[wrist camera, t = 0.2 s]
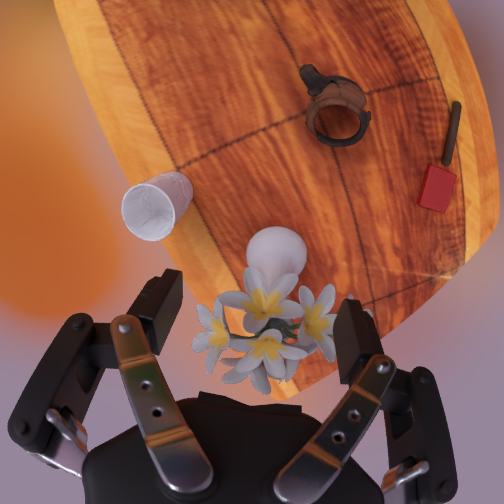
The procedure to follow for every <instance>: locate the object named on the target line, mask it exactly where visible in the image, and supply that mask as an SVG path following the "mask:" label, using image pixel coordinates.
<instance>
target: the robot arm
mask: <svg viewBox="0 0 504 504" xmlns="http://www.w3.org/2000/svg"><path fill="white" fill-rule="evenodd" d="M182 299H183V276H182V271H179V270H173V269H168V268H167V269H166V270H165V272H164V273H163V275H162V276H161V277H156V276H155V277H154V278H152V279H150V280H149V281H148V282H147V283H146V284H145V286H144V288H143V290H141V292H140V294H139V295H138V296H137V298H136V300H135V301H134V303H133V304H132V306H131V307H130V309H129V310H128V312H127V313H126V314H125V315H120V316H118V317H116V318H114V319H113V320H112V322H111V323H94V322H93V320H92V318H91V316H89V315H88V314H86V313H77V314H74V315H72V316H70V317H69V318H68V320H67V321H66V322H65V323H64V325H63V326H62V328H61V329H60V331H59V332H58V334H57V336H56V337H55V338H54V340H53V342H52V343H51V345H50V346H49V348H48V350H47V351H46V353H45V354H44V356H43V358H42V359H41V361H40V362H39V364H38V366H37V367H36V369H35V371H34V372H33V374H32V376H31V378H30V379H29V381H28V383H27V385H26V387H25V389H24V390H23V392H22V394H21V396H20V398H19V400H18V402H17V404H16V406H15V408H14V410H13V412H12V414H11V416H10V418H9V421H8V432H9V435H10V437H11V439H12V440H13V441H14V442H15V443H17V444H18V445H19V446H21V447H22V448H23V449H24V450H25V451H26V452H28V453H29V454H31V455H32V456H34V457H35V458H36V459H38V460H40V461H41V462H43V463H46V464H47V465H49V466H51V467H53V468H55V469H62V470H64V471H66V472H68V473H70V474H72V475H74V476H76V477H78V478H80V479H82V482H83V486H84V492H85V504H443V503H446V502H448V501H450V500H451V499H452V498H453V497H454V496H455V494H456V491H457V488H458V481H457V473H456V466H455V460H454V454H453V448H452V443H451V438H450V433H449V429H448V424H447V421H446V416H445V412H444V408H443V405H442V401H441V398H440V394H439V391H438V387H437V384H436V381H435V378H434V375H433V374H432V373H431V371H429V370H428V369H427V368H425V367H421V366H420V367H416V368H414V369H413V370H412V372H411V373H410V372H407V371H404V370H400V369H398V368H396V365H395V362H394V361H393V360H392V359H391V358H390V357H388V356H386V355H385V354H384V351H383V348H382V345H381V341H380V338H379V335H378V334H377V329H376V328H375V323H374V320H373V318H372V317H371V315H370V314H369V313H368V312H367V311H363V309H362V306H361V303H360V301H359V300H354V299H347V298H345V299H344V300H343V302H342V304H341V306H340V309H339V311H338V313H337V316H336V318H335V320H334V324H333V337H334V343H335V349H336V356H337V362H338V369H339V375H340V383H341V384H349V390H348V391H347V392H346V394H345V395H344V396H343V398H342V399H341V400H340V402H339V403H338V404H337V406H336V407H335V408H334V410H333V411H332V412H331V413H330V415H329V416H328V417H327V418H326V419H325V421H324V422H323V423H320V422H319V421H318V420H316V419H315V418H313V417H311V416H309V415H307V414H305V413H302V406H300V405H286V404H269V405H257V406H249V405H246V404H243V403H241V402H238V401H236V400H233V399H231V398H228V397H226V396H222V395H216V394H211V393H206V392H202V391H200V392H199V395H198V398H187V399H182V400H179V401H176V402H175V400H174V398H173V395H172V393H171V391H170V389H169V387H168V385H167V382H166V380H165V378H164V376H163V373H162V371H161V369H160V367H159V364H158V362H157V359H156V357H155V355H158V356H159V355H160V352H161V350H162V348H163V345H164V343H165V341H166V339H167V336H168V334H169V332H170V330H171V327H172V325H173V323H174V321H175V319H176V316H177V314H178V312H179V310H180V308H181V304H182ZM153 354H154V355H153ZM106 368H111V369H112V368H113V369H119V370H120V374H121V377H122V380H123V384H124V387H125V390H126V393H127V396H128V399H129V402H130V405H131V408H132V410H133V413H134V416H135V419H136V421H137V425H135V426H133V427H132V428H130V429H128V430H126V431H125V432H123V433H121V434H119V435H118V436H116V437H114V438H112V439H110V440H109V441H107V442H105V443H103V444H101V445H99V446H97V447H95V448H94V449H92V450H91V451H90V452H88V450H87V432H86V429H85V428H84V427H83V426H82V423H83V420H84V418H85V415H86V412H87V410H88V408H89V405H90V403H91V400H92V398H93V396H94V393H95V391H96V389H97V387H98V384H99V382H100V380H101V378H102V375H103V373H104V371H105V369H106ZM411 409H412V411H411ZM379 410H383V411H384V419H385V427H386V436H387V446H388V458H389V470H388V471H387V472H386V474H385V475H384V477H383V481H382V484H381V488H380V487H379V486H378V484H377V483H376V482H375V481H374V480H373V479H372V478H371V477H370V476H369V475H368V474H367V473H366V472H365V471H364V470H363V469H362V468H361V467H360V465H359V464H358V463H357V462H356V461H355V460H354V459H353V458H352V457H351V456H350V455H351V454H352V453H353V451H354V450H355V448H356V447H357V445H358V444H359V442H360V441H361V439H362V438H363V436H364V434H365V433H366V431H367V430H368V428H369V427H370V425H371V423H372V422H373V420H374V418H375V416H376V415H377V413H378V411H379ZM412 414H413V416H412ZM413 420H414V421H413Z"/></svg>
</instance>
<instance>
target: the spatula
mask: <svg viewBox="0 0 504 504" xmlns="http://www.w3.org/2000/svg"><path fill="white" fill-rule="evenodd" d="M460 114H461V104H460V102H458V101H454V102H453V106H452V112H451V118H450V124H449V129H448V135H447V139H446V144H445V149H444V153H443V157H442V164H443V165H444V166H449V165H450V163H451V159H452V155H453V150H454V146H455V141H456V136H457V131H458V126H459V120H460ZM456 177H457V176H456V175H454V174H452V173H450V172H448V171H445V170H443V169H440V168H438V167H436V166H433V165H431V164H428V167H427V170H426V174H425V178H424V181H423V185H422V188H421V192H420V195H419V198H418V201H417V204H418V205H420V206H423V207H427V208H430V209H433V210H436V211H439V212H442V213H445V212H446V209H447V206H448V203H449V200H450V197H451V194H452V191H453V187H454V184H455V180H456Z"/></svg>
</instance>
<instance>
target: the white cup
mask: <svg viewBox="0 0 504 504" xmlns="http://www.w3.org/2000/svg"><path fill="white" fill-rule="evenodd" d="M192 199H193V186H192V184H191V182H190V180H189V179H188V178H187V177H186V176H185V175H184V174H183V173H180V172H177V171H169V172H164V173H162V174H159V175H157V176H154V177H152V178H150V179H147V180H145V181H143V182H141V183H139V184H137V185H135V186H133V187H132V188H130V189H129V190H128V191H127V192H126V194H125V195H124V197H123V201H122V205H121V211H122V217H123V220H124V222H125V224H126V226H127V227H128V229H129V230H130V231H131V232H132V233H133V234H134V235H136V236H137V237H139V238H141V239H143V240H147V241H158V240H161V239H163V238H165V237H166V236H168V235H169V234H170V232H171V231H172V229H173V228H174V227H175V225H176V224H177V223H178V221H179V220H180V218H181V217H182V215H183V214H184V212H185V211H186V209H187V208H188V206H189V205H190V203H191V201H192Z"/></svg>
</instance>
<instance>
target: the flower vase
mask: <svg viewBox="0 0 504 504" xmlns="http://www.w3.org/2000/svg"><path fill="white" fill-rule="evenodd" d="M246 260H247V264H248V266H249V267H247V268H246V269H245V270H244V272H243V281H244V285H245V288H246V290H247V293H248V295H249V296H248V295H246V294H245V293H244V292H240V291H227V292H224V293H222V294H220V295H218V296H217V297H216V299H215V302H214V307H213V308H214V309H213V311H214V314H215V315H213V314H212V313H211V312H210V311H209V309H208V308H207V307H206V306H205V305H203V304H198V306H197V315H198V318H199V321H200V323H201V324H202V326H203V327H205V328H206V329H208V330H211V331H204V332H202V333H200V334H198V335H197V336H196V337H195V339H194V340H193V342H192V350H193V351H194V352H197V353H198V352H203V351H205V350H207V349H211V348H213V349H211V350H210V351H209V352H208V354H207V357H206V371H207V373H208V374H211V373H212V371H213V369H214V367H215V365H216V362H217V360H218V358H219V356H220V354H221V352H222V351H223V350H226V349H227V348H228V347H230V348H232V349H233V350H235V351H239V352H247V351H248V350H249V351H248V352H247V353H246V355H245V356H243V357H242V358H223V359H221V360H220V361H221V362H222V363H223V364H225V365H227V366H236V367H235V368H233V369H232V370H230V371H229V372H227V373H226V374H224V376H223V377H222V381H223V382H224V383H228V384H234V383H238V382H241V381H243V380H244V379H246V378H247V377H248V375H249V373H250V379H251V383H252V385H253V386H254V388H255V389H256V390H258V391H259V392H260V393H262V394H270V392H271V386H270V383H269V381H268V378H267V375H268V376H269V377H271V378H273V379H279V380H280V382H279V384H280V383H281V382H282V380H283V379H284V377H285V382H288V381H289V380H290V379H291V377H292V376H293V375H294V373H295V372H296V370H297V367H298V364H299V359H303V358H305V357H307V356H309V355H310V354H312V353H313V352H315V351H316V350H317V349H318V348H320V350H321V352H322V353H323V355H324V356H325V358H326V359H327V360H328V361H329V362H331V363H332V362H334V361H335V358H336V350H335V345H334V343H333V340H332V339H331V338H333V324H334V320H335V318H336V316H337V314H328V315H325V314H327V313H328V312H329V311H330V310H331V309H332V307H333V305H334V301H335V288H334V286H333V285H332V284H327V285H326V286H325V287H324V289H323V290H322V292H321V294H320V296H319V297H318V299H317V300H316V302H315V303H314V296H313V294H312V292H311V291H310V290H309V289H308V288H307V287H305V286H301V287H300V289H299V299H300V303H301V305H300V304H298V303H297V302H294V301H290V300H287V295H288V294H289V293H290V292H291V291H292V290H293V289H294V288H295V286H296V284H297V283H298V275H299V274H300V273H301V272H302V270H303V269H304V267H305V264H306V261H307V248H306V245H305V242H304V241H303V239H302V238H301V237H300V236H299V235H298V234H297V233H296V232H295V231H293V230H291V229H289V228H286V227H281V226H271V227H268V228H264V229H262V230H260V231H259V232H257V233H256V234H255V235H254V236H253V237H252V238H251V239H250V241H249V243H248V245H247V249H246ZM249 297H250V298H249ZM348 299H354V298H353V295H352V294H349V296H348ZM313 303H314V304H313ZM223 305H225V306H227V307H231V308H235V309H240V310H243V311H245V312H248V313H246V314H245V316H244V319H243V327H244V329H245V331H247V332H248V333H254V334H255V336H252V337H245V336H240V335H236V334H232V333H230V331H229V328H228V325H227V322H226V319H225V314H224V307H223ZM363 311H367V312H368V313H369V314H370V315H371V317H372V313H371V311H370V310H369V309H364V310H363ZM302 316H303V322H302V323H299V324H294V321H293V319H295V318H300V317H302ZM295 329H299V330H298V335H295V334H293V333H294V330H295ZM326 334H327V335H326ZM290 337H291V338H294V339H298V341H299V342H297V343H292V344H287V343H286V342H284V341H285V340H287V339H289V338H290ZM230 338H231V340H230ZM281 355H282V356H283V357H284V358H285V359H284V362H283V359H282V357H281ZM263 357H264V361H263ZM266 373H267V374H266Z"/></svg>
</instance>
